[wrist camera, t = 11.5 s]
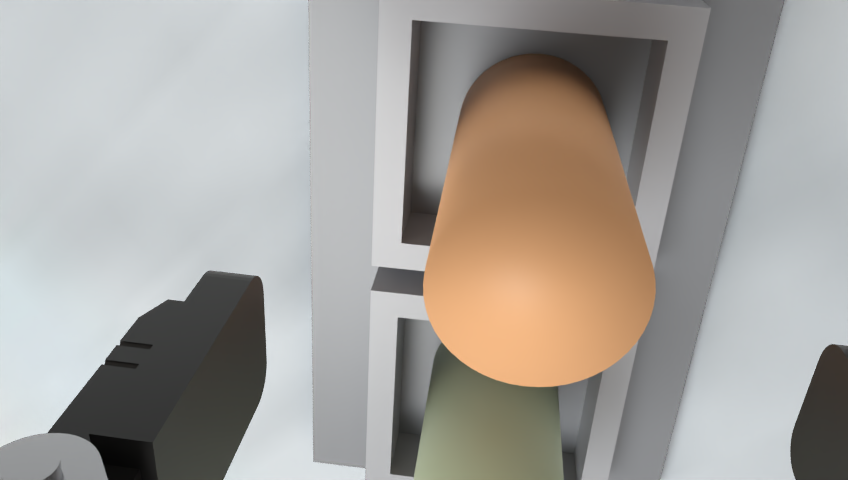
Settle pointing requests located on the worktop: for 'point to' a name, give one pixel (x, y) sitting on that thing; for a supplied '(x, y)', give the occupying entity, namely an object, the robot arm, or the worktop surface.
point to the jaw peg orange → (537, 232)
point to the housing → (424, 180)
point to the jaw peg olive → (487, 427)
